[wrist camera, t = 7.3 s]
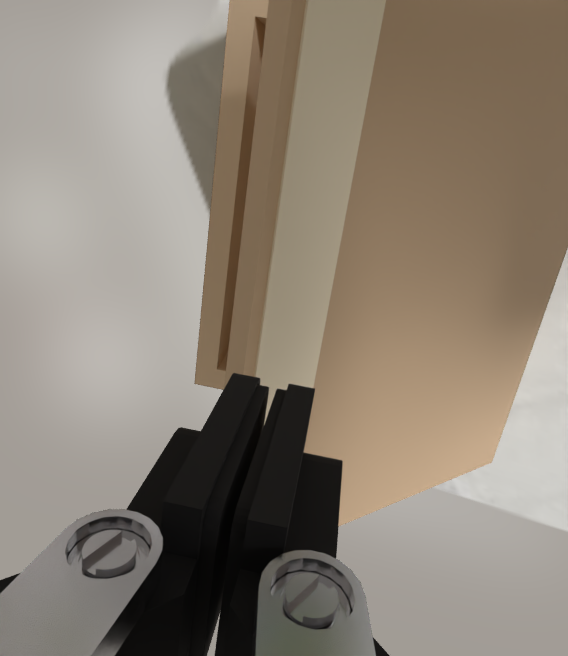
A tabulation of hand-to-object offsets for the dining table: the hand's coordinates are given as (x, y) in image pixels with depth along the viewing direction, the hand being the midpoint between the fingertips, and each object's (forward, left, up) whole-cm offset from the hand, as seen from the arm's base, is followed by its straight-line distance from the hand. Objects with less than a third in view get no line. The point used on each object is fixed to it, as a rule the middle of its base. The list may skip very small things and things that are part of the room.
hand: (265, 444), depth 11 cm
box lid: (-1, +4, -11) cm, 12 cm away
